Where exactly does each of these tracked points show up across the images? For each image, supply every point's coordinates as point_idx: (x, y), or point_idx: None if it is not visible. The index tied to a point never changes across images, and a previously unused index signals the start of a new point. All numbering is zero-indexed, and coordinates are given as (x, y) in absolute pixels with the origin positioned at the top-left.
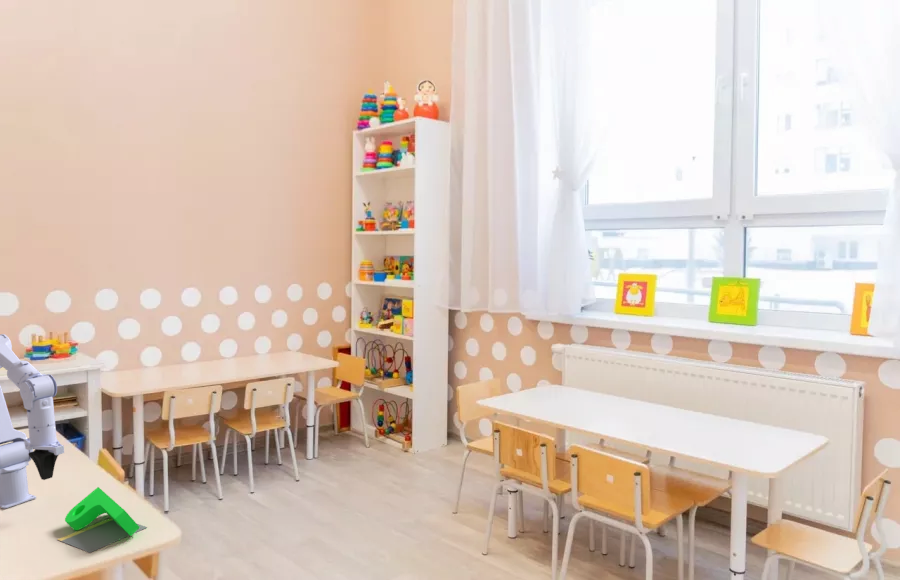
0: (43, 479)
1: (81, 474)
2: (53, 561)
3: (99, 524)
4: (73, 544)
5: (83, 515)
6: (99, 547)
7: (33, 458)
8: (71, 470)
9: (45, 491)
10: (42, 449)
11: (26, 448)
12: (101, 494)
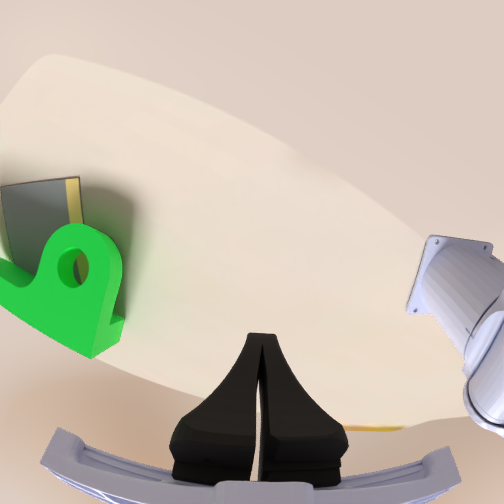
0: (255, 333)
1: (401, 403)
2: (14, 128)
3: (82, 275)
4: (35, 185)
5: (43, 252)
6: (3, 207)
7: (290, 416)
8: (432, 399)
9: (414, 340)
10: (134, 479)
11: (270, 492)
12: (46, 326)
